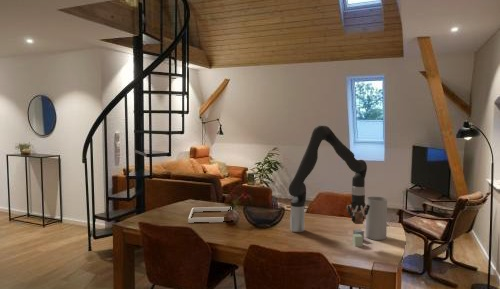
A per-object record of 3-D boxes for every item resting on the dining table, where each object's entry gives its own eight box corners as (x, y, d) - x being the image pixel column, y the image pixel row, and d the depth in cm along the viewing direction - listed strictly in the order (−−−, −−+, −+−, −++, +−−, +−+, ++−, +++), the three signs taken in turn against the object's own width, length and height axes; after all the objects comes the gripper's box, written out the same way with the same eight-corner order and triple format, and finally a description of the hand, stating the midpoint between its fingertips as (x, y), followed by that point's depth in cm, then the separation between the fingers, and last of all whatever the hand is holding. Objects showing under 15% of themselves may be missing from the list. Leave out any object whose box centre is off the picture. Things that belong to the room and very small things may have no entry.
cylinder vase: (361, 236, 228) (362, 198, 226) (372, 232, 236) (373, 195, 234) (379, 241, 218) (379, 201, 216) (390, 237, 226) (391, 198, 224)
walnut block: (355, 224, 209) (355, 214, 209) (352, 222, 214) (352, 212, 213) (362, 223, 210) (363, 213, 209) (360, 221, 214) (360, 212, 214)
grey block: (357, 241, 219) (357, 232, 219) (353, 239, 223) (353, 229, 223) (363, 240, 220) (363, 231, 220) (359, 238, 225) (359, 229, 224)
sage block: (355, 246, 210) (355, 236, 210) (352, 244, 215) (352, 234, 214) (362, 246, 211) (362, 236, 210) (359, 243, 215) (359, 234, 215)
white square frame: (188, 222, 260) (188, 218, 260) (192, 211, 292) (192, 207, 292) (232, 221, 262) (232, 217, 262) (231, 210, 294) (231, 206, 294)
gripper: (348, 195, 206) (348, 224, 207) (372, 194, 207) (372, 223, 208) (344, 192, 214) (344, 220, 215) (367, 192, 215) (367, 219, 216)
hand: (357, 221), depth 212 cm, fingers closed on walnut block, 4 cm apart
